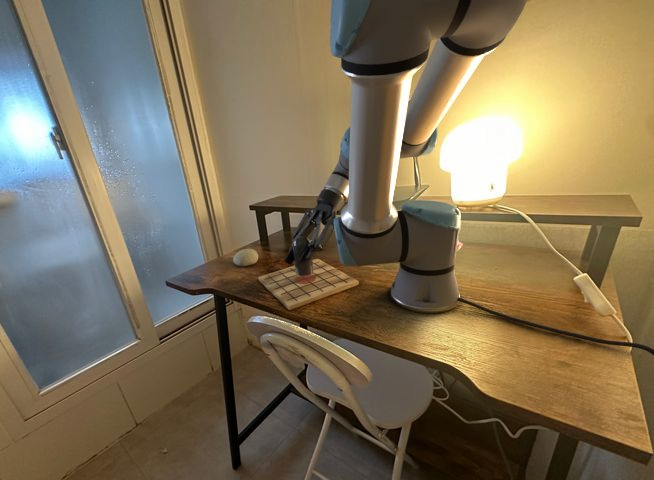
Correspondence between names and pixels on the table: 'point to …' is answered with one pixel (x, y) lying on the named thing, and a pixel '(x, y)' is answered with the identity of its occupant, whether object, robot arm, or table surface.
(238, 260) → the sea urchin shell
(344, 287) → the game board
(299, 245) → the dark grey rounded cylinder
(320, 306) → the table surface
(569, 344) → the table surface
